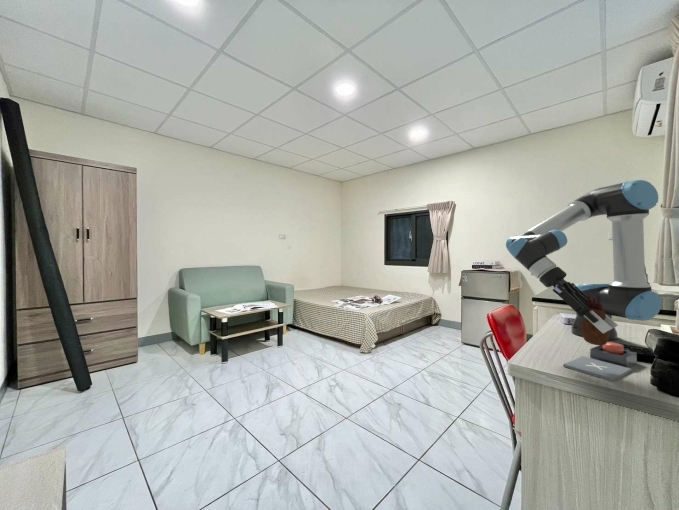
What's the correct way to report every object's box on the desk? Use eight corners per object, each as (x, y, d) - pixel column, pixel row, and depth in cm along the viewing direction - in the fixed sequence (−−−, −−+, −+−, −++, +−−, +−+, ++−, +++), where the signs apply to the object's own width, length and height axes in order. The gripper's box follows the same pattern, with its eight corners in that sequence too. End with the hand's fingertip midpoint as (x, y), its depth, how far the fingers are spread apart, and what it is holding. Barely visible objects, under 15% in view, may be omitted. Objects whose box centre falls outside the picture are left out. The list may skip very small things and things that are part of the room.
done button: (606, 349, 97) (606, 341, 97) (626, 354, 93) (626, 345, 93) (600, 352, 95) (600, 343, 95) (620, 356, 90) (620, 347, 90)
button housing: (601, 354, 100) (601, 344, 100) (636, 362, 92) (636, 352, 92) (590, 359, 96) (590, 349, 96) (626, 368, 88) (626, 357, 88)
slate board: (582, 358, 96) (582, 356, 96) (631, 371, 86) (631, 368, 86) (563, 366, 89) (563, 363, 89) (613, 381, 79) (613, 378, 79)
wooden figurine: (576, 340, 91) (577, 294, 91) (594, 340, 91) (595, 295, 91) (595, 347, 84) (595, 298, 84) (614, 347, 84) (615, 298, 84)
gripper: (549, 278, 105) (608, 331, 92) (527, 281, 95) (589, 341, 81) (566, 265, 101) (630, 318, 87) (545, 266, 91) (614, 327, 77)
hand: (610, 329), depth 84 cm, fingers closed on wooden figurine, 6 cm apart
